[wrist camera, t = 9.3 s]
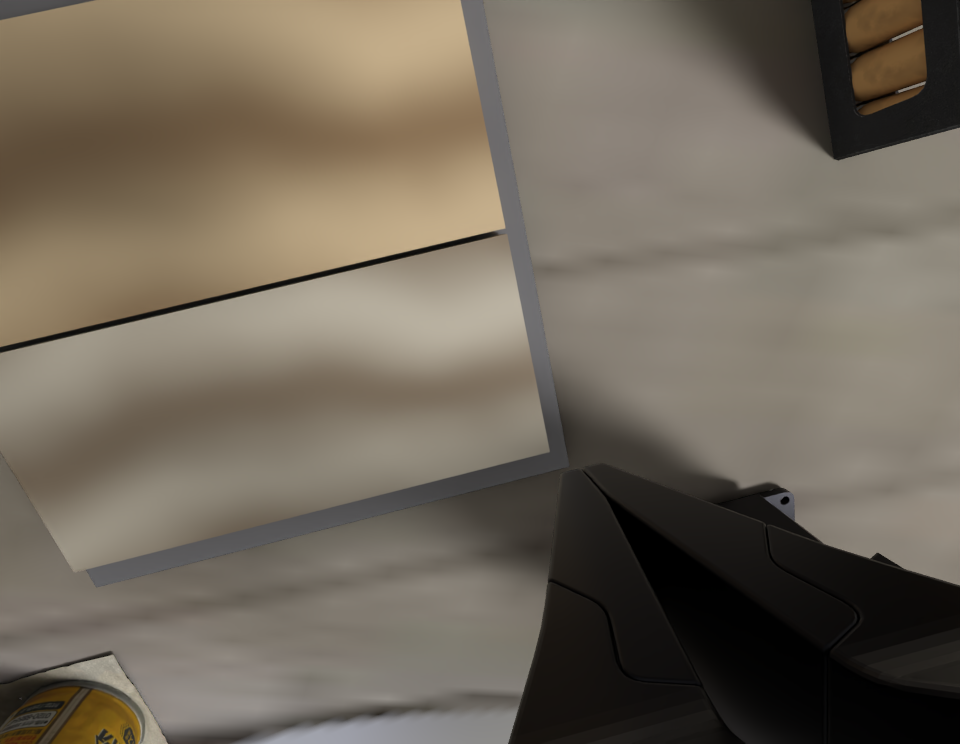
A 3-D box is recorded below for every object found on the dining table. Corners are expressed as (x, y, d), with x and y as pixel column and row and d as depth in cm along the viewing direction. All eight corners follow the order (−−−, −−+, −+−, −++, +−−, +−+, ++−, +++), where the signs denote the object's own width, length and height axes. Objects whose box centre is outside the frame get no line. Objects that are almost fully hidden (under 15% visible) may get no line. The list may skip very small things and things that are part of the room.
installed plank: (499, 229, 18) (505, 228, 16) (-12, 349, 17) (-53, 359, 16) (444, -44, 15) (445, -74, 14) (-161, 84, 15) (-226, 67, 13)
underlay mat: (563, 456, 22) (569, 466, 21) (111, 572, 21) (96, 587, 20) (451, -137, 15) (452, -163, 14) (-211, -2, 15) (-257, -19, 14)
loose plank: (541, 436, 20) (549, 451, 19) (100, 548, 20) (73, 572, 18) (501, 234, 18) (507, 233, 16) (-12, 354, 17) (-52, 365, 16)
